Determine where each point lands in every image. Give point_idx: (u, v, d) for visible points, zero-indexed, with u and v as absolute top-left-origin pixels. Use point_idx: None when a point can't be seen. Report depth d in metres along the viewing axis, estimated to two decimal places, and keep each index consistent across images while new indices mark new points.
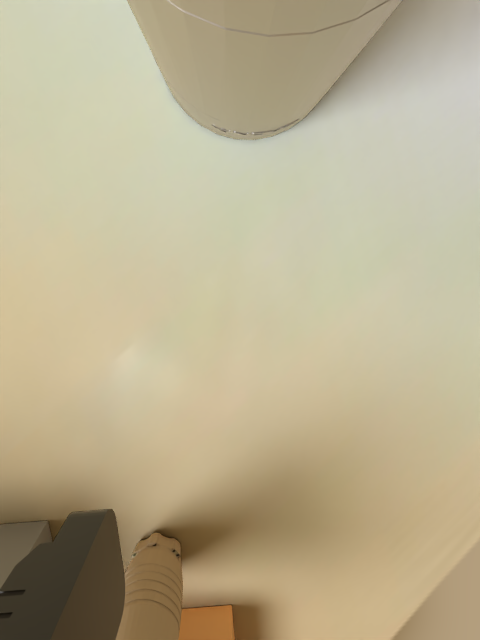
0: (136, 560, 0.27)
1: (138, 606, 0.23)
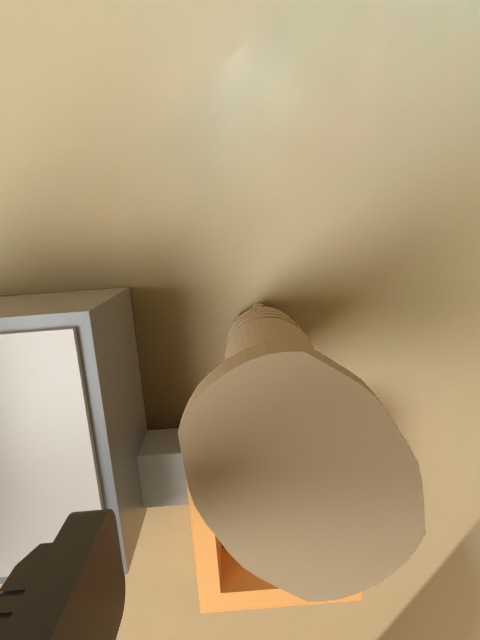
0: None
1: (267, 318, 0.18)
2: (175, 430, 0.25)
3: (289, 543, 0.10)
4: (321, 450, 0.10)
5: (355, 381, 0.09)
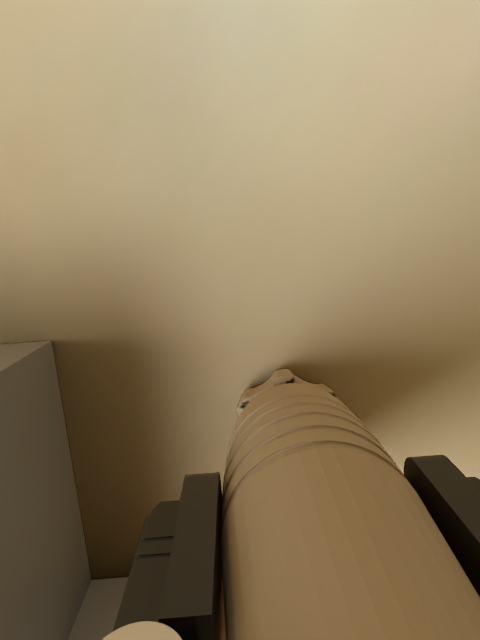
0: (262, 397, 0.11)
1: (324, 452, 0.08)
2: None
3: None
4: None
5: None
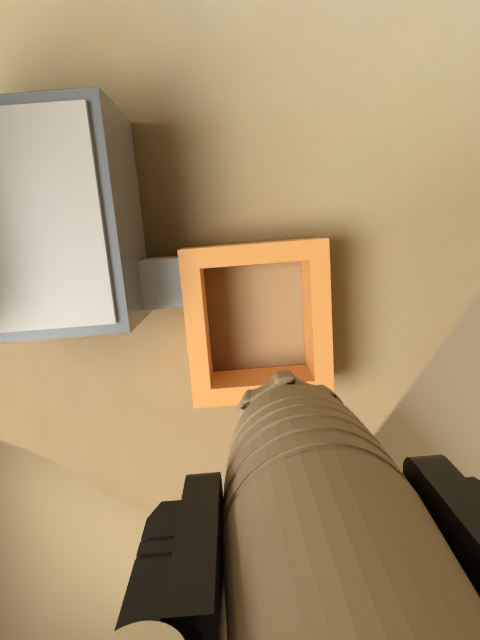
0: (263, 399, 0.11)
1: (325, 455, 0.08)
2: (171, 256, 0.29)
3: None
4: None
5: None
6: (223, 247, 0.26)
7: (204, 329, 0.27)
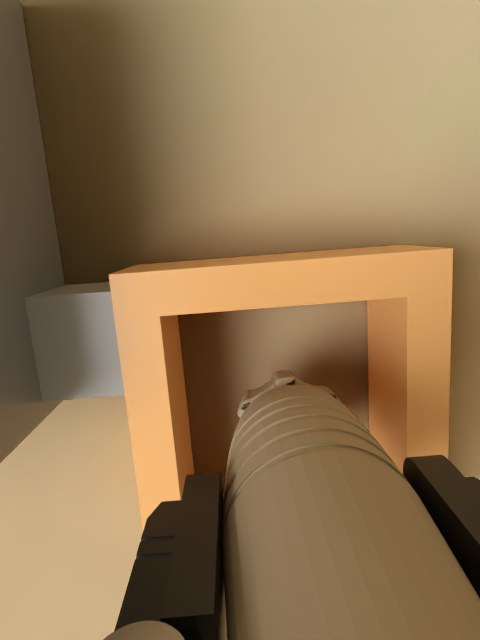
0: (263, 400, 0.11)
1: (326, 456, 0.08)
2: None
3: None
4: None
5: None
6: (213, 269, 0.11)
7: (172, 444, 0.12)
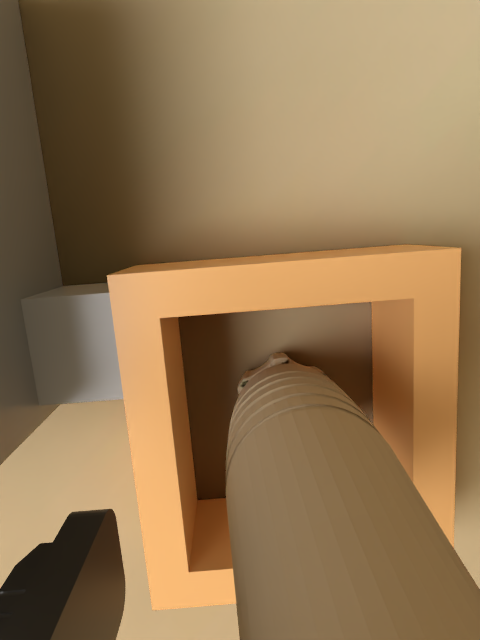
0: (261, 375, 0.13)
1: (313, 412, 0.09)
2: None
3: None
4: None
5: None
6: (214, 269, 0.11)
7: (173, 449, 0.12)
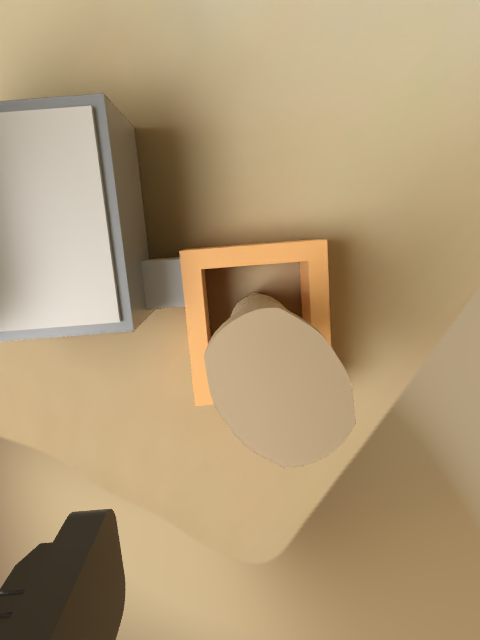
0: None
1: (261, 300, 0.24)
2: (173, 257, 0.30)
3: (271, 429, 0.16)
4: (290, 369, 0.16)
5: (310, 326, 0.16)
6: (224, 248, 0.26)
7: (205, 328, 0.27)
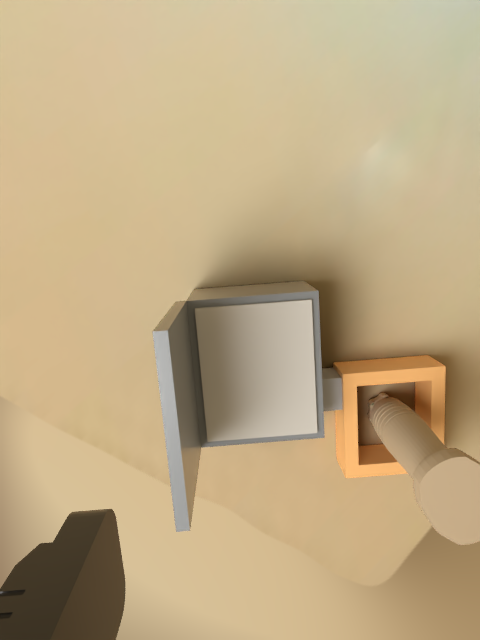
0: (382, 402, 0.40)
1: (407, 414, 0.36)
2: (325, 369, 0.41)
3: (454, 522, 0.28)
4: (468, 489, 0.28)
5: None
6: (374, 372, 0.38)
7: (356, 425, 0.39)
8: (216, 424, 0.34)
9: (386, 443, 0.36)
